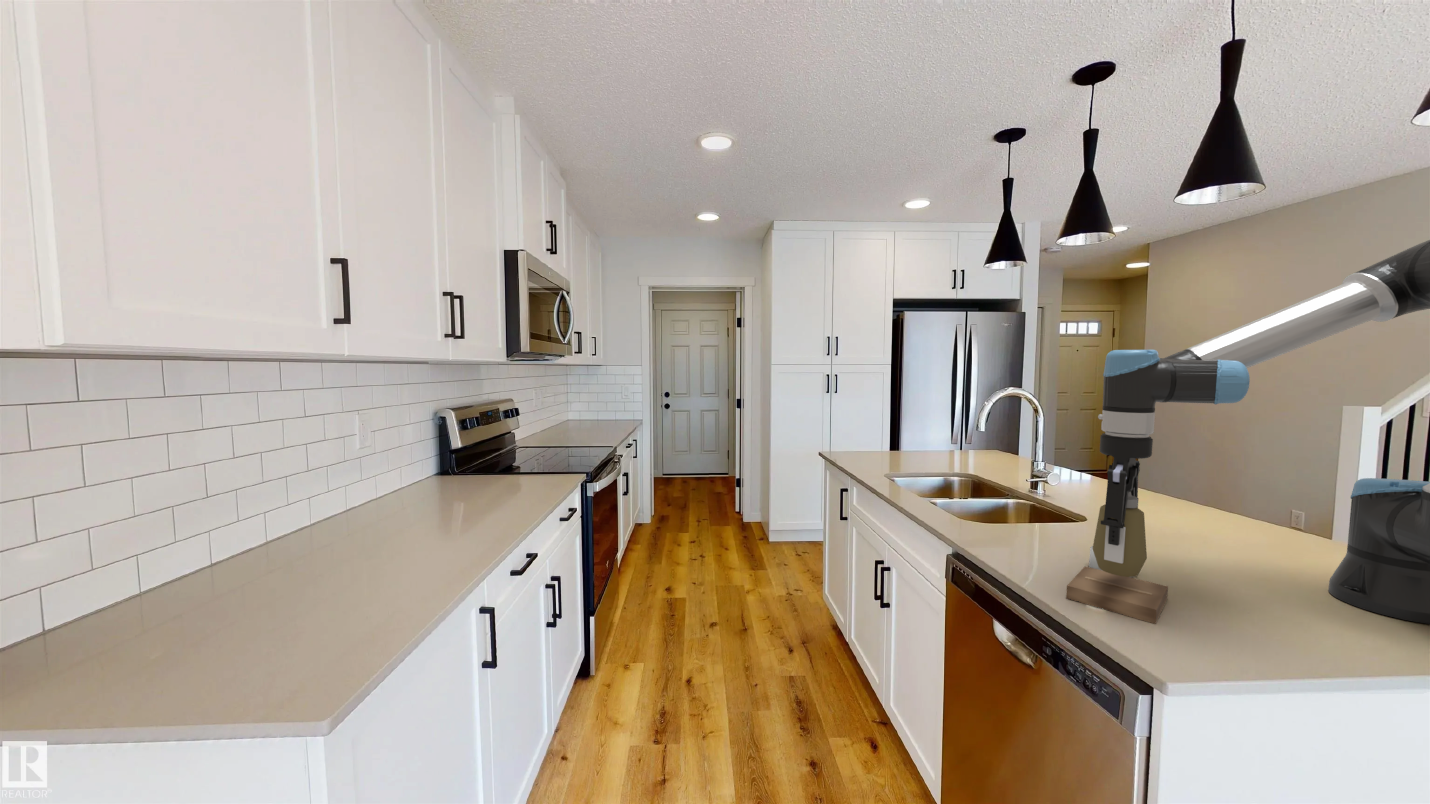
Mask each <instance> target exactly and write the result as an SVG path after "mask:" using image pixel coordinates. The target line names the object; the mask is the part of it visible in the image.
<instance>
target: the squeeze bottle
mask: <svg viewBox="0 0 1430 804" xmlns="http://www.w3.org/2000/svg"><path fill="white" fill-rule="evenodd" d="M1137 507H1138V508H1137ZM1104 514H1105V504H1103V505H1101V506H1100V507H1099V512H1098V517H1097V523H1096V528H1095V535H1094V539H1093V544H1092V546H1093V552H1094V555H1095V558H1096V561H1097V564H1098V567H1099V568H1100V569H1101V570H1103V571H1105V572H1107V573H1110V574H1114V575H1118V576H1125V577H1132V578H1136V577H1137V576H1138V575H1139V573H1140V572H1141V571H1142V568H1143V566H1144V565H1145V563H1146V561H1147V559H1148V556H1147V555H1148V554H1147V539H1146V523H1145V512H1144V511H1143V510H1141V509H1140V508H1139V497H1138V498H1137V497H1135V496H1132V495H1131V492H1129V493H1128V500H1127V507H1126V514H1125V521H1124V524H1125V526H1124V527H1126V529H1125V545H1124V560H1123V564H1122V563H1117V562H1113V561H1109V560H1104V550H1105V533H1106V525H1102V524H1101V521H1103V519H1104ZM1111 519H1115V518H1111Z"/></svg>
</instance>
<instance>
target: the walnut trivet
mask: <svg viewBox="0 0 1430 804" xmlns="http://www.w3.org/2000/svg"><path fill="white" fill-rule="evenodd" d="M1168 592H1169V586H1167V585H1163V584H1160V583H1156V582H1153V581H1152V582H1151V581H1149V580H1144V579H1139V578H1136V577H1132V578H1131V577H1125V576H1118V575H1114V574H1110V573H1107V572H1105V571H1102V570H1098V569H1094V568H1090V567H1089V566H1084V567H1083V568H1081V570H1080V571H1078V573H1077V574H1076V575H1075V576H1074V577H1073V578H1072V580H1071V581H1069V583H1068V584H1067V585H1066V592H1065V593H1066V595H1065V596H1066V600H1070V599H1071V601H1075V602H1077V601H1079V602H1078V603H1082V604H1085V605H1088V606H1093V607H1096V608H1098V607H1099V608H1098V609H1102V608H1103V609H1102V610H1105V611H1110V612H1112V613H1116V614H1119V615H1122V614H1123V616H1126V617H1130V618H1133V619H1136V620H1140V621H1143V622H1147V623H1150V624H1154V625H1156V624H1157V622H1158V620H1159V618H1160V617H1161V613H1162V611H1163V610H1164V608H1165V605H1166V603H1167V601H1168V596H1169V595H1168V594H1169V593H1168Z"/></svg>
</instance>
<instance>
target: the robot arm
mask: <svg viewBox="0 0 1430 804" xmlns="http://www.w3.org/2000/svg"><path fill="white" fill-rule="evenodd" d="M1429 309H1430V239H1429V240H1425V241H1422V242H1420V243H1418V244H1416V245H1413V246H1411V247H1409V248H1407V249H1404V250H1403V251H1400V252H1398V253H1396V254H1394V255H1393V254H1392V255H1391V256H1389V257H1387V258H1385V259H1383V260H1380V261H1378V262H1376V263H1374V264H1371V265H1369V266H1367V267H1365V268H1362V269H1361V270H1358V271H1355V272H1353V273H1351V274H1349V275H1347V276H1346V277H1345V278H1344V279H1343V280H1342V283H1341V284H1340V285H1338V286H1337V285H1336V286H1335V287H1333V288H1330V289H1328V290H1325V291H1323V292H1320V293H1318V294H1315V295H1313V296H1311V297H1308V298H1305V299H1303V300H1301V301H1298V302H1296V303H1294V304H1291V305H1289V306H1286V307H1284V308H1282V309H1279V310H1277V311H1274V312H1272V313H1270V314H1267V315H1265V316H1263V317H1260V318H1258V319H1255V320H1253V321H1250V322H1248V323H1246V324H1243V325H1240V326H1238V327H1236V328H1233V329H1231V330H1229V331H1226V332H1224V333H1221V334H1218V335H1216V336H1214V337H1212V338H1209V339H1206V340H1205V341H1202V342H1200V343H1197V344H1194V345H1192V346H1190V347H1188V348H1185V349H1183V350H1180V351H1178V352H1176V353H1173V354H1170V355H1168V356H1166V357H1164V358H1160V357H1159V352H1158V350H1156V349H1115V350H1114V349H1113V350H1111V351H1109V352H1108V353H1107V354H1106V356H1105V363H1104V370H1103V374H1102V376H1103V387H1102V388H1103V393H1102V411H1101V412H1102V414H1101V413H1100V414H1098V416H1097V418H1098V419H1099V420H1101V427H1100V429H1101V431H1102V432H1104V433H1102V434H1100V436H1099V437H1100V439H1099V441H1100V442H1099V453H1101V454H1102V455H1104V456H1111V457H1112V458H1113V462H1112V463H1111V464H1109V465H1108V469H1107V472H1106V473H1107V485H1106V495H1105V504H1104V505H1105V514H1104V519H1103V521H1101V524H1102V525H1106V533H1105V550H1104V560H1109V561H1113V562H1117V563H1122V564H1123V560H1124V545H1125V529H1126V527H1124V526H1125V524H1124V521H1125V514H1126V507H1127V500H1128V493H1129V492H1131V495H1132V496H1135V497H1137V498H1139V475H1140V474H1139V473H1140V470H1141V468H1140V465H1141V463H1140V461H1139V460H1140V459H1143V460H1144V459H1149V458H1150V457H1152V455H1153V443H1154V439H1153V438H1152V437H1151V436H1150V435H1152V434H1154V433H1155V419H1156V418H1155V417H1156V408H1155V407H1156V404H1157V403H1183V404H1213V405H1218V404H1236V403H1238V402H1240V401H1242V400H1243V399H1244V398H1245V397H1246V395H1247V394H1248V391H1249V389H1250V381H1251V380H1250V378H1251V377H1250V373H1249V370H1248V368H1251V367H1254V366H1256V365H1259V364H1262V363H1264V362H1266V361H1269V360H1272V359H1275V358H1278V357H1279V356H1282V355H1285V354H1287V353H1290V352H1292V351H1295V350H1298V349H1301V348H1303V347H1306V346H1309V345H1311V344H1314V343H1316V342H1318V341H1321V340H1324V339H1327V338H1330V337H1331V336H1335V335H1336V334H1339V333H1342V332H1346V331H1347V330H1350V329H1353V328H1355V327H1357V326H1361V325H1363V324H1366V323H1368V322H1371V321H1373V322H1383V323H1384V322H1387V321H1390V320H1393V319H1396V318H1398V317H1401V316H1404V315H1407V314H1411V313H1415V312H1420V311H1425V310H1429ZM1136 459H1139V460H1136ZM1350 499H1351V504H1350V512H1349V524H1348V525H1349V526H1348V537H1347V547H1346V553H1345V556H1344V557H1343V559H1342V560H1341V561H1340V563H1339V565H1338V566H1337V568H1336V569H1335V570H1334V572H1333V574H1332V575H1331V577H1330V578H1329V580H1328V581H1329V582H1328V593H1330V595H1332V596H1333V597H1334V598H1336V599H1338V600H1340V601H1342V602H1344V603H1346V604H1349V605H1351V606H1354V607H1357V608H1359V609H1363V610H1366V611H1369V612H1372V613H1376V614H1379V615H1383V616H1387V617H1389V618H1390V617H1392V618H1395V619H1400V620H1404V621H1408V622H1414V623H1419V624H1427V625H1428V624H1429V625H1430V481H1426V480H1425V481H1423V480H1413V479H1412V480H1410V479H1398V478H1394V479H1393V478H1381V477H1380V478H1378V477H1377V478H1376V477H1374V478H1373V477H1370V478H1369V477H1367V478H1366V477H1364V478H1360V479H1358V480H1356V481H1355V483H1354V485H1353V489H1352V491H1351V495H1350ZM1137 508H1138V509H1139V506H1138V507H1137ZM1111 518H1115V519H1111Z"/></svg>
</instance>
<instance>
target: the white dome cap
mask: <svg viewBox="0 0 1430 804" xmlns="http://www.w3.org/2000/svg"><path fill="white" fill-rule="evenodd" d="M1088 560H1089V561H1088V567H1090V568H1094V569H1098V570H1101V569H1100V568H1099V567H1098V564H1097V561H1096V558H1095V555H1094V552H1093V545H1091V546H1090V548H1089V559H1088ZM1102 571H1103V570H1102ZM1131 578H1133V577H1131Z"/></svg>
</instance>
